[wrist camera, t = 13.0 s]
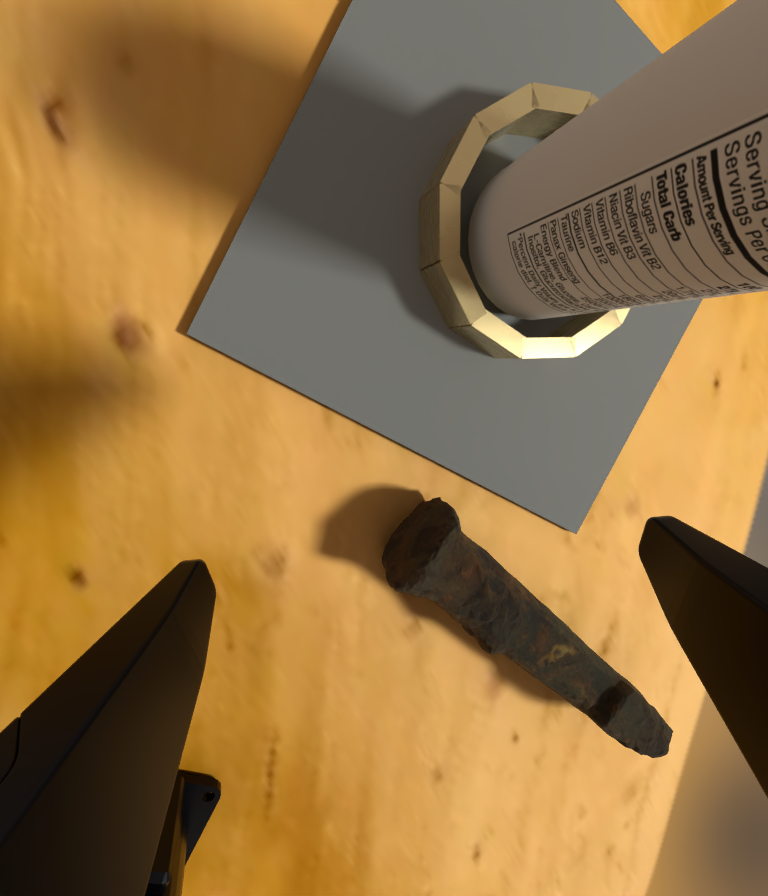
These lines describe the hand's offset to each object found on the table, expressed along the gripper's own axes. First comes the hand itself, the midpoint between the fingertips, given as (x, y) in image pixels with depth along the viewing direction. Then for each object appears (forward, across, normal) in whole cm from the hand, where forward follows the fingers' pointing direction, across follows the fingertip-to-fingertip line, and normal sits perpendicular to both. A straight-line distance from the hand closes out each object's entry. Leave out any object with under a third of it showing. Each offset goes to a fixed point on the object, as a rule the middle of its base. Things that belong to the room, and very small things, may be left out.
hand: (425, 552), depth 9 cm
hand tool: (+9, -6, +14) cm, 18 cm away
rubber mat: (+14, -6, -3) cm, 16 cm away
